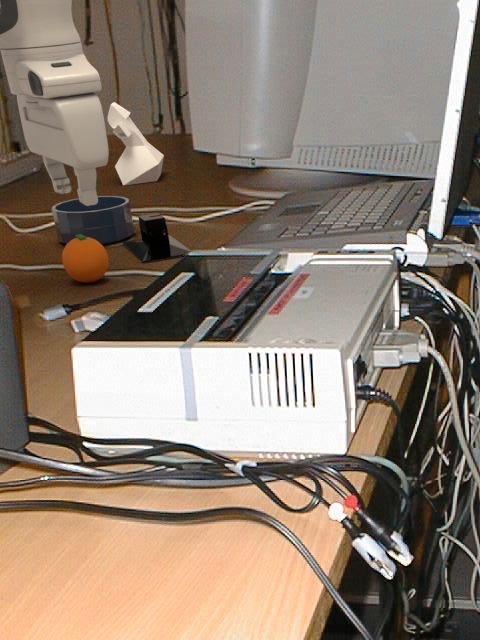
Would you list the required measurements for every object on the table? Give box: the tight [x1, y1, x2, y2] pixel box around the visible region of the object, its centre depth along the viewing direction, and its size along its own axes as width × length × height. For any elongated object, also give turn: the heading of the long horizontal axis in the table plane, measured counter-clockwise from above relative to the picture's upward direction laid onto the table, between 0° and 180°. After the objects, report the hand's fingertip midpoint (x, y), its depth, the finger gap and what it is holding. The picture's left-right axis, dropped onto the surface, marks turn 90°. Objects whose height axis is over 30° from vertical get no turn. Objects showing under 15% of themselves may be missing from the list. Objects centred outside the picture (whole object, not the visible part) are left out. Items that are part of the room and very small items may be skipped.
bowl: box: [51, 195, 135, 246], centre depth 134 cm, size 11×11×5 cm
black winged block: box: [122, 212, 191, 264], centre depth 127 cm, size 12×7×5 cm, turn 27°
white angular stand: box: [107, 101, 165, 186], centre depth 173 cm, size 8×14×14 cm, turn 6°
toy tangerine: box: [61, 234, 110, 284], centre depth 114 cm, size 6×6×6 cm
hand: (76, 198), depth 110 cm, fingers open, 8 cm apart
